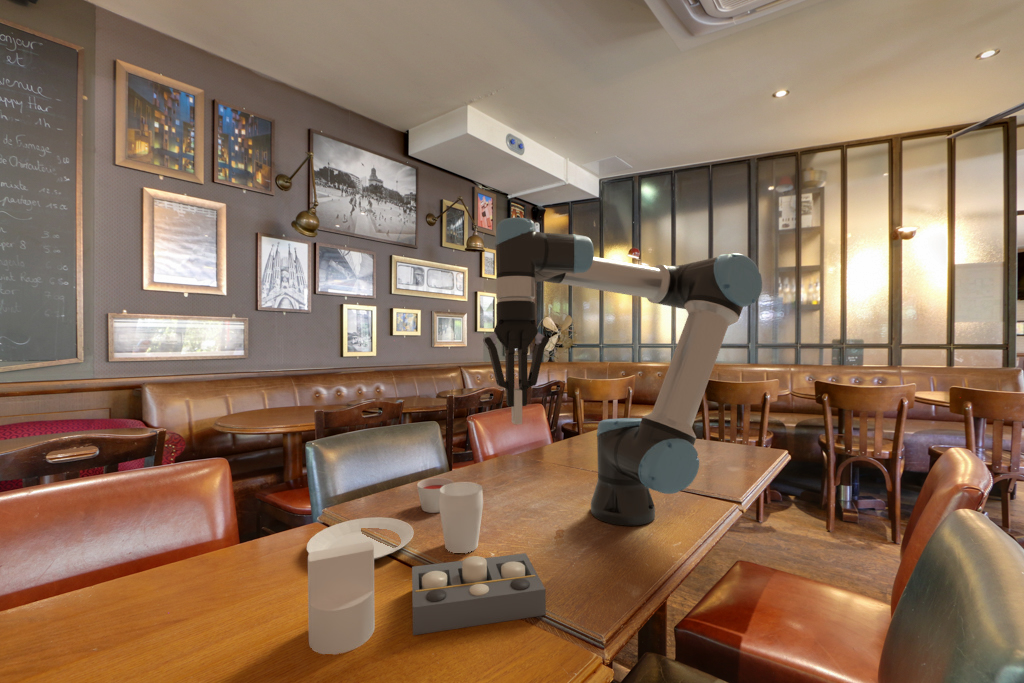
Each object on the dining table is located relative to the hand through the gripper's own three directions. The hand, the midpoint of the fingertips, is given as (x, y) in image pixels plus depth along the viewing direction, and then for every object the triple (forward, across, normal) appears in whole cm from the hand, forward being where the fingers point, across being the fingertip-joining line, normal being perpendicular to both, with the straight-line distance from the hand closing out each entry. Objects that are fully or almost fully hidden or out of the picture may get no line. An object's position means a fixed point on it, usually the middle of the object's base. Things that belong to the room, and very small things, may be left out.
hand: (516, 423), depth 87 cm
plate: (+27, +30, -13) cm, 42 cm away
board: (+26, +10, +12) cm, 31 cm away
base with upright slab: (+27, +30, +15) cm, 43 cm away
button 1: (+26, +3, +11) cm, 28 cm away
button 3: (+26, +16, +11) cm, 33 cm away
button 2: (+24, +10, +11) cm, 28 cm away
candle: (+27, +14, -31) cm, 43 cm away
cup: (+27, +10, -8) cm, 30 cm away
